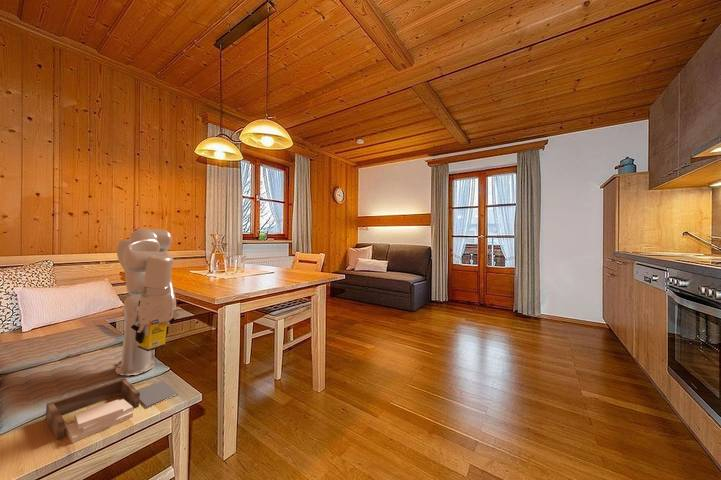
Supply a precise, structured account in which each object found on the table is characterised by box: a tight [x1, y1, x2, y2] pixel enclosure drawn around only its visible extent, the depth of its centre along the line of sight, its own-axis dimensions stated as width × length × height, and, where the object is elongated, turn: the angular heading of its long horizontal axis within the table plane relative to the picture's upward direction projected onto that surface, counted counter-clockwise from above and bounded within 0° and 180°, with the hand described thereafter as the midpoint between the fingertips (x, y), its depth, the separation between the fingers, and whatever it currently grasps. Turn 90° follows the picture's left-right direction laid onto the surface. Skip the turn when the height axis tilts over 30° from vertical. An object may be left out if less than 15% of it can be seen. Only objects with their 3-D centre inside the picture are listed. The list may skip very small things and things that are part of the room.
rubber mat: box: [136, 379, 179, 409], centre depth 102 cm, size 12×10×1 cm
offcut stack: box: [64, 398, 134, 444], centre depth 86 cm, size 8×14×4 cm, turn 149°
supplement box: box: [138, 319, 167, 352], centre depth 99 cm, size 6×6×11 cm
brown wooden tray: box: [45, 377, 140, 441], centre depth 90 cm, size 13×19×5 cm, turn 149°
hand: (151, 338), depth 99 cm, fingers closed on supplement box, 6 cm apart
